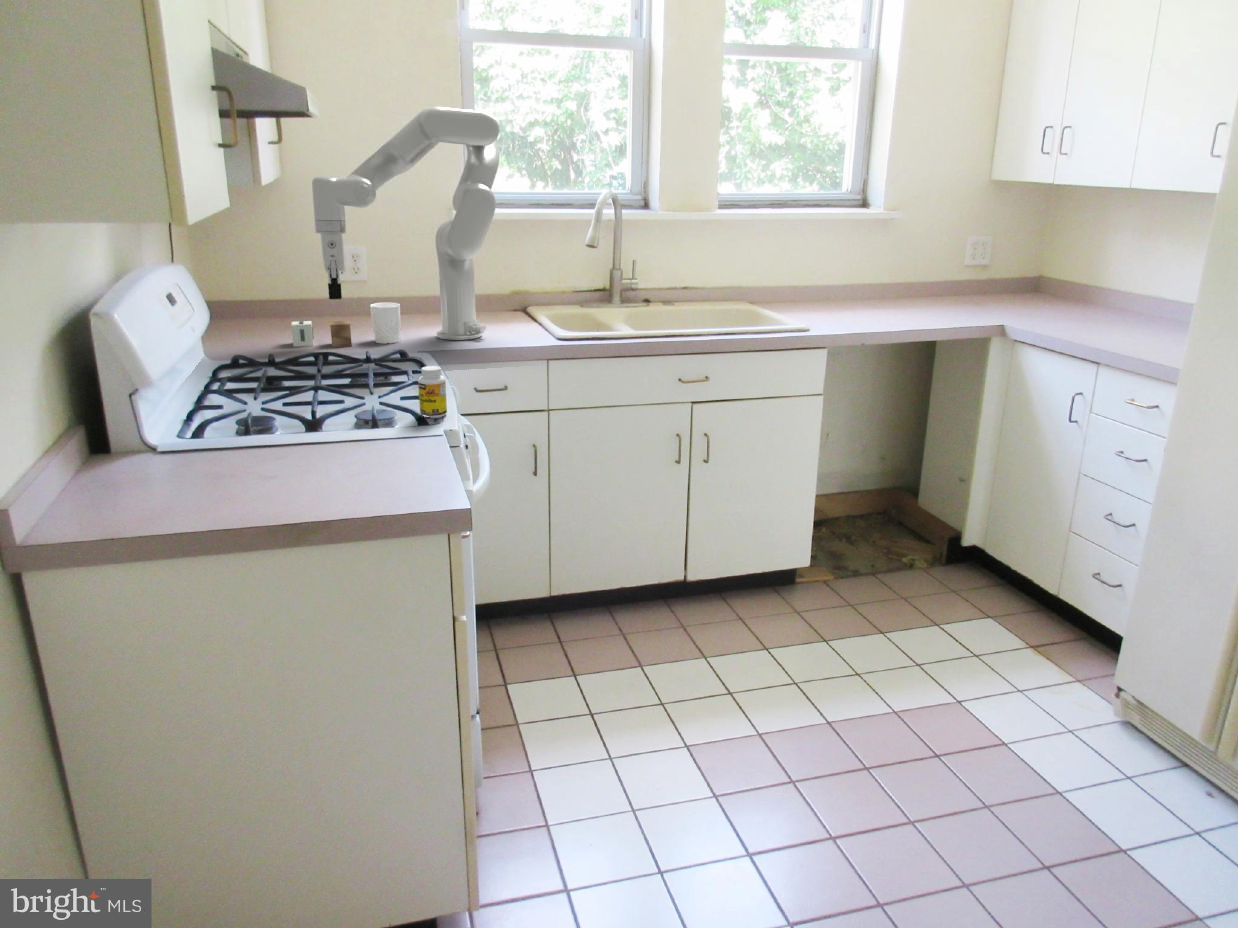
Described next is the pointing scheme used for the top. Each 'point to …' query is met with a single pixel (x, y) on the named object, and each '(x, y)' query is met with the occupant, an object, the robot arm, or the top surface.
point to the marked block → (302, 333)
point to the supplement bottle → (432, 392)
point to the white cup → (386, 322)
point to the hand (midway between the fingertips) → (335, 298)
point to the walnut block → (340, 333)
